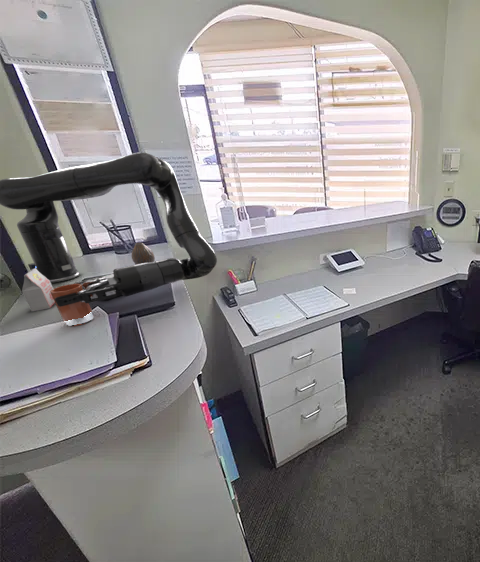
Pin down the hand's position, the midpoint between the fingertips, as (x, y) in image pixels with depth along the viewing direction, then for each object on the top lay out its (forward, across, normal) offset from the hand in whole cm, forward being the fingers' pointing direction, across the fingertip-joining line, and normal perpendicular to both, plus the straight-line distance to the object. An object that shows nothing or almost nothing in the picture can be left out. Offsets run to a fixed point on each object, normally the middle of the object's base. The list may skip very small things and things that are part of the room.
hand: (55, 299), depth 72 cm
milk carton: (+2, -21, +7) cm, 23 cm away
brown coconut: (-27, -40, +7) cm, 49 cm away
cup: (-3, 0, +7) cm, 7 cm away
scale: (-14, -20, +7) cm, 25 cm away
